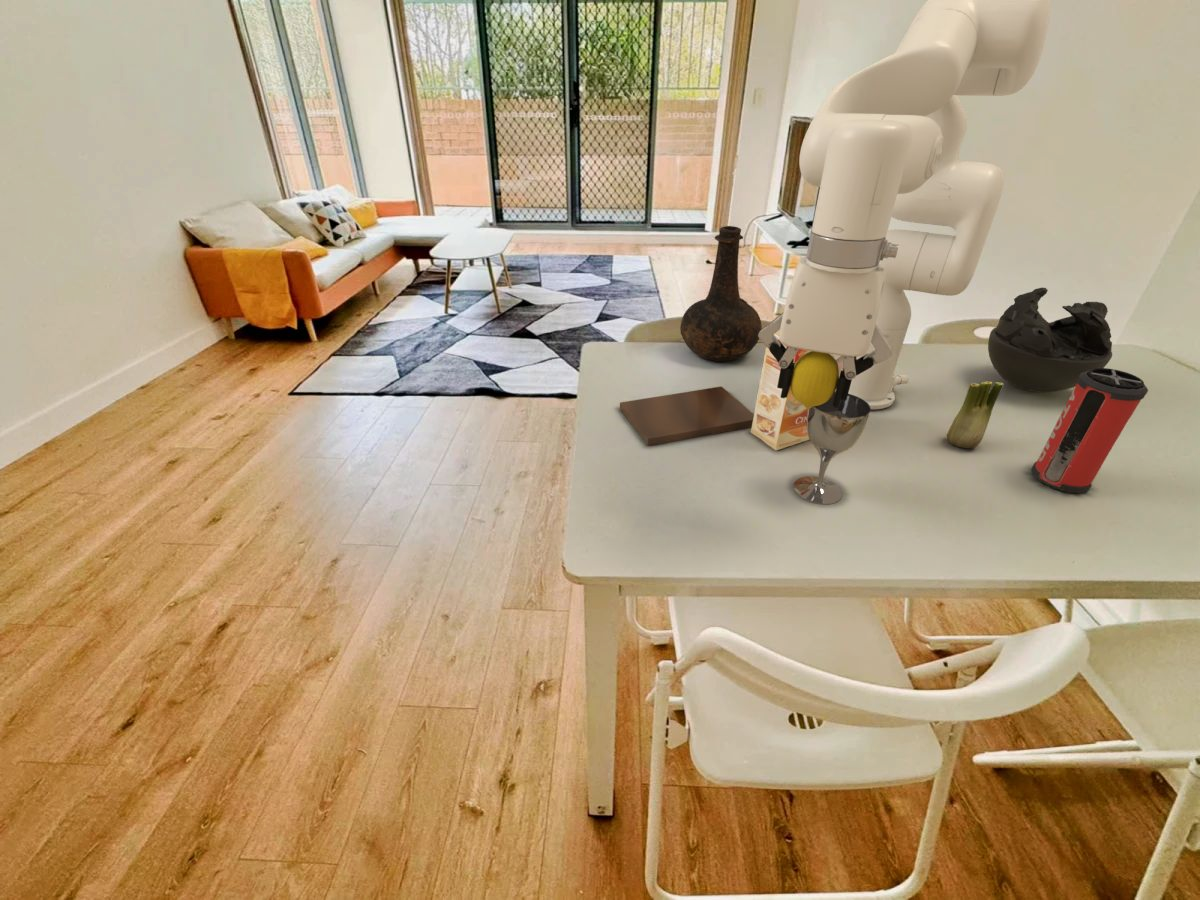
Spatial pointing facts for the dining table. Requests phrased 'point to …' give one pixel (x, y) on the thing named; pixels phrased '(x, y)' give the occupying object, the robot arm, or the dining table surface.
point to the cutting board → (686, 415)
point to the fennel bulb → (974, 415)
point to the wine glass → (831, 443)
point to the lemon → (814, 378)
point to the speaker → (1088, 428)
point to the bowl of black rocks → (1049, 344)
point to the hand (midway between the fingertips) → (810, 397)
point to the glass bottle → (722, 309)
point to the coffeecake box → (780, 406)
